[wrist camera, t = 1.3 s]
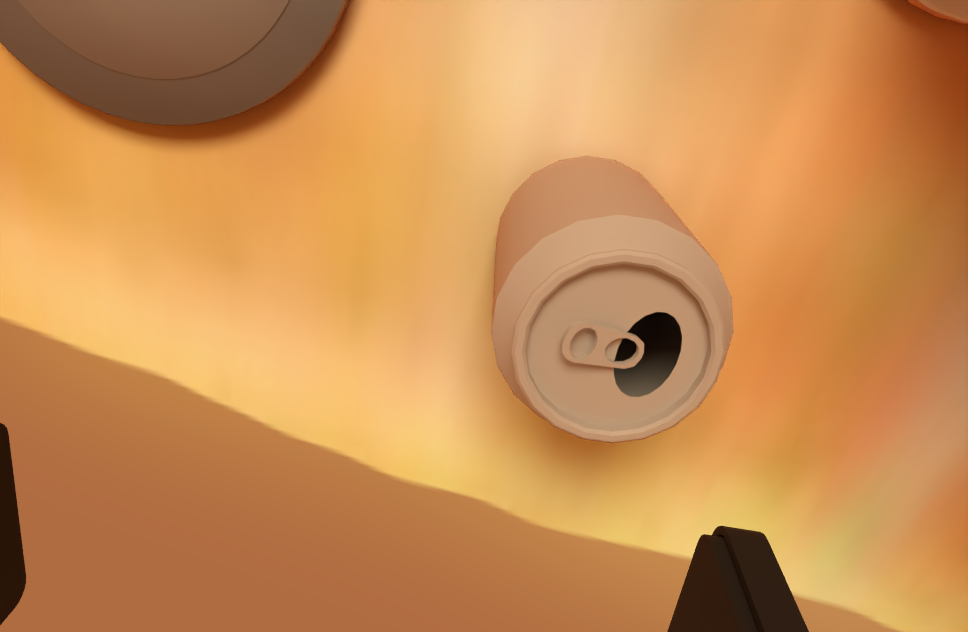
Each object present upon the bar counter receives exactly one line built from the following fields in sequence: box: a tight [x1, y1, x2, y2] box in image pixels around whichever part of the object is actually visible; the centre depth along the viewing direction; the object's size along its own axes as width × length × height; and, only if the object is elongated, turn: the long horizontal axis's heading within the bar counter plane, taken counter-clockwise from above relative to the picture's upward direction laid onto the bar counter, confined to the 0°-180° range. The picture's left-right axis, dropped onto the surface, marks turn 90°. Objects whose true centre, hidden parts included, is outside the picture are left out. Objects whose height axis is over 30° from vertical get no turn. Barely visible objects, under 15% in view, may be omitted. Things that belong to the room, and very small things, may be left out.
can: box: [491, 156, 733, 443], centre depth 27 cm, size 8×8×12 cm
